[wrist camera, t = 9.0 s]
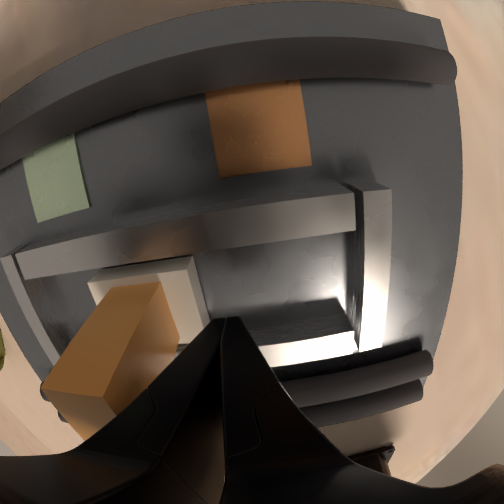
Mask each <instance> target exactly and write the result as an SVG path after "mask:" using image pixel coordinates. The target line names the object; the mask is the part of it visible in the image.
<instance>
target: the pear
mask: <svg viewBox="0 0 504 504" xmlns="http://www.w3.org/2000/svg"><path fill="white" fill-rule="evenodd" d="M5 355H6V354H5V351H4V344H3V338H2V334H1V330H0V371H1V369H2V368H3V364H4V356H5Z"/></svg>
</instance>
